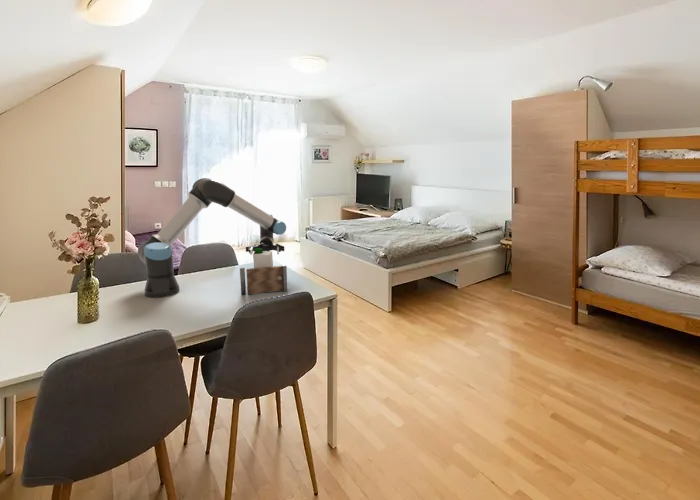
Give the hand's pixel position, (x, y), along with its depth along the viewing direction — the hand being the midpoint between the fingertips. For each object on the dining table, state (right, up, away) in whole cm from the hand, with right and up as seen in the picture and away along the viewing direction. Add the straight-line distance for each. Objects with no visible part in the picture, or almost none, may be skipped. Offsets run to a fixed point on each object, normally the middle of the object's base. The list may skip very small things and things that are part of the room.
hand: (264, 252), depth 206 cm
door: (+4, -19, -14) cm, 24 cm away
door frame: (+3, -20, -14) cm, 24 cm away
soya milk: (+1, -18, -6) cm, 19 cm away
